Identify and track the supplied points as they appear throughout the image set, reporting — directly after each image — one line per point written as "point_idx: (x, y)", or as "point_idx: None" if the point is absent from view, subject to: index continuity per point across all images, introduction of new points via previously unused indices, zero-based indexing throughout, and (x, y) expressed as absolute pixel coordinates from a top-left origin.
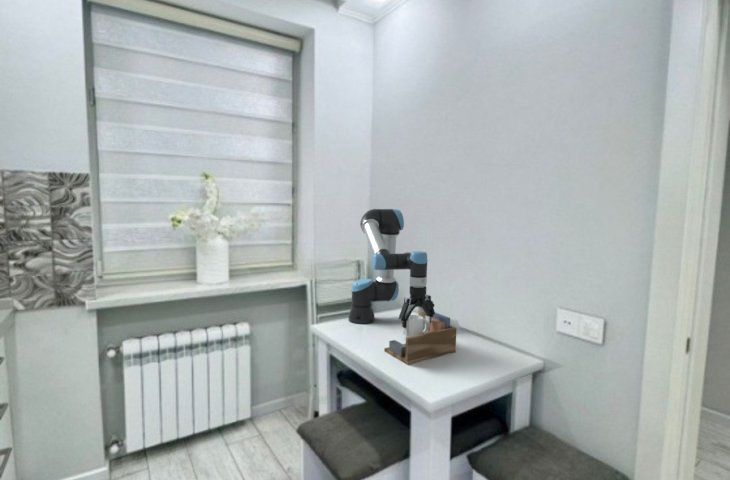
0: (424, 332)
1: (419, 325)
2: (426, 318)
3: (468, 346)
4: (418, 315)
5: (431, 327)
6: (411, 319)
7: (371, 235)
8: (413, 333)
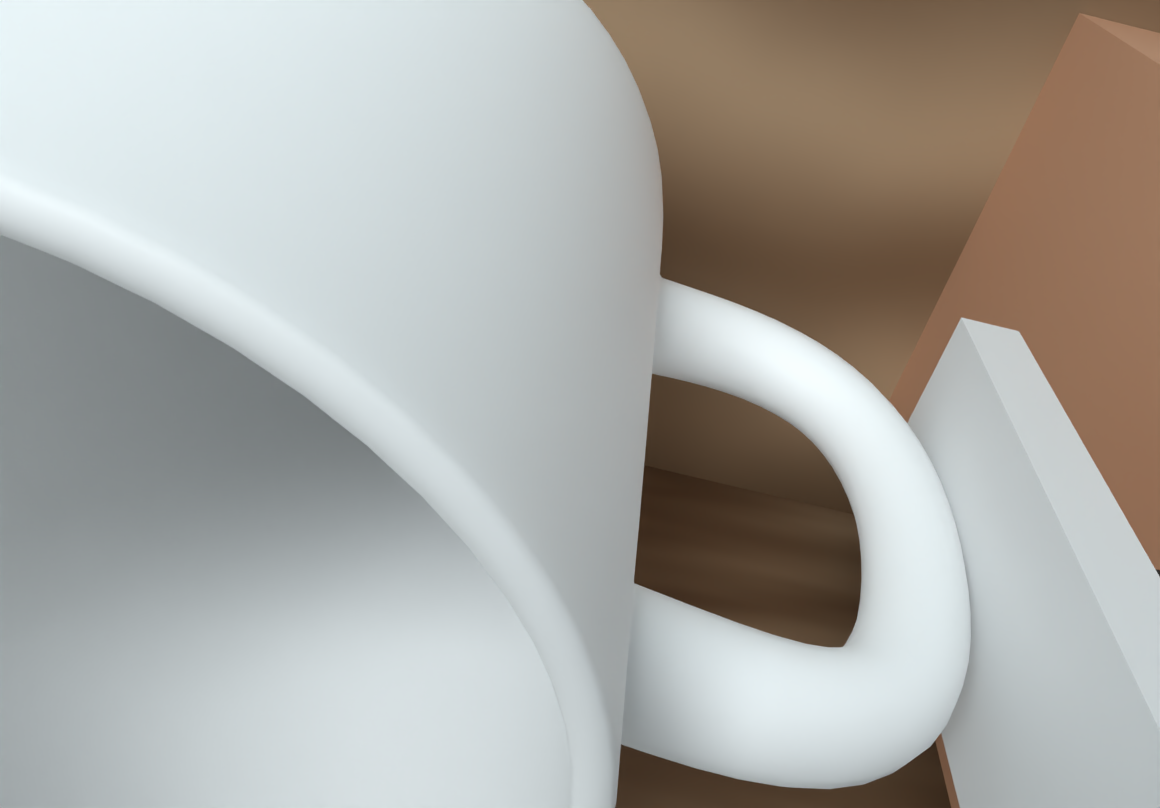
0: (749, 395)
1: (179, 756)
2: (1063, 734)
3: None
4: (582, 740)
5: (1132, 502)
6: (348, 170)
7: None
8: (114, 457)
